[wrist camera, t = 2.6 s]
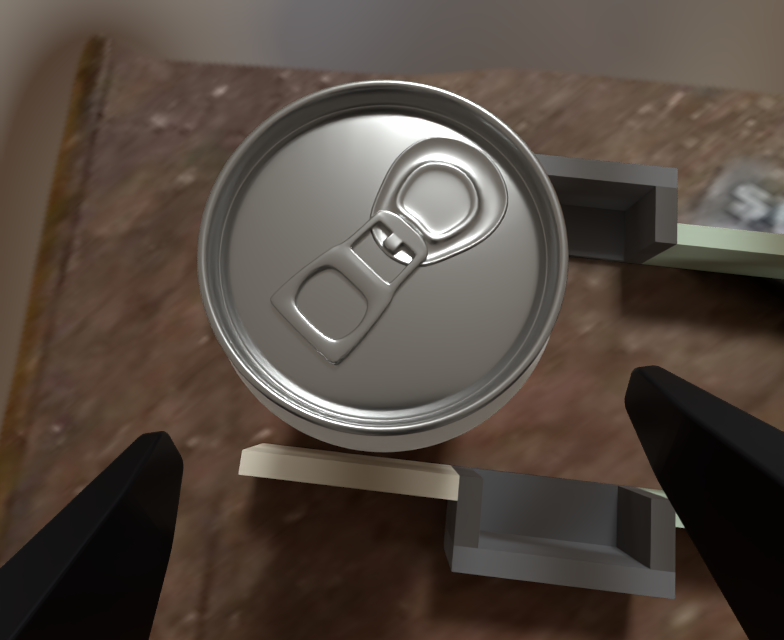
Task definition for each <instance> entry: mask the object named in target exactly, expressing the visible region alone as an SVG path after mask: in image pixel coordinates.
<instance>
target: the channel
mask: <svg viewBox="0 0 784 640" xmlns="http://www.w3.org/2000/svg"><path fill="white" fill-rule="evenodd" d="M535 156H536V157H537V159H538V160H539V161H540V163H541V165H542V166H543V168H544V169H545V171H546V173H547V175H548V177H549V179H550V181H551V183H552V185H553V187H554V189H555V191H556V194H557V197H558V199H559V202H560V205H561V208H562V212H563V216H564V220H565V225H566V231H567V238H568V252H569V256H570V257H580V258H589V259H598V260H608V261H617V262H627V263H636V264H645V265H655V266H664V267H674V268H683V269H692V270H702V271H711V272H720V273H730V274H739V275H749V276H758V277H767V278H777V279H784V234H775V233H765V232H755V231H746V230H736V229H727V228H717V227H707V226H698V225H688V224H679V223H677V202H678V168H669V167H659V166H649V165H639V164H630V163H620V162H610V161H600V160H590V159H580V158H570V157H561V156H551V155H541V154H535ZM239 475H247V476H256V477H264V478H272V479H281V480H289V481H297V482H306V483H314V484H322V485H331V486H339V487H347V488H356V489H364V490H372V491H381V492H389V493H397V494H406V495H414V496H422V497H431V498H439V499H447V511H446V522H445V534H444V545H443V548H444V551H445V554H446V557H447V560H448V563H449V566H450V569H451V572H459V573H467V574H475V575H483V576H491V577H499V578H507V579H515V580H523V581H532V582H540V583H548V584H556V585H564V586H572V587H580V588H588V589H596V590H604V591H612V592H620V593H629V594H637V595H645V596H653V597H661V598H669V599H675V534H676V527H681V528H684V526H683V524H682V522H681V521H680V519H679V517H678V515H677V514H676V512H675V510H674V508H673V507H672V505H671V503H670V501H669V500H668V498H667V496H666V495H665V493H664V491H663V490H655V489H647V488H638V487H630V486H621V485H613V484H605V483H596V482H588V481H579V480H571V479H562V478H554V477H545V476H537V475H528V474H520V473H511V472H503V471H495V470H486V469H478V468H469V467H461V466H452V465H444V464H435V463H427V462H418V461H410V460H401V459H393V458H384V457H376V456H368V455H359V454H351V453H342V452H334V451H325V450H317V449H308V448H300V447H291V446H283V445H274V444H266V443H262V444H259V445H256V446H253V447H250V448H247V449H244V450H242V456H241V462H240V468H239Z"/></svg>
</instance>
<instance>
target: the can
mask: <svg viewBox="0 0 784 640" xmlns="http://www.w3.org/2000/svg"><path fill="white" fill-rule="evenodd" d="M568 262H569V252H568V238H567V231H566V225H565V220H564V216H563V212H562V208H561V205H560V202H559V199H558V197H557V194H556V191H555V189H554V187H553V185H552V183H551V181H550V179H549V177H548V175H547V173H546V171H545V169H544V168H543V166H542V165H541V163H540V161H539V160H538V159H537V157H536V156H535V154H534V153H533V152H532V150H531V149H530V148H529V147H528V145H527V144H526V143H525V142H524V141H523V140H522V139H521V138H520V137H519V135H518V134H516V133H515V132H514V131H513V130H512V129H511V128H510V127H509V126H508V125H507V124H506V123H504V122H503V121H502V120H501V119H499V118H498V117H497V116H495V115H494V114H493V113H491V112H490V111H488V110H487V109H485V108H483V107H482V106H480V105H478V104H476V103H475V102H473V101H471V100H469V99H467V98H465V97H463V96H460V95H458V94H456V93H453V92H450V91H448V90H445V89H442V88H438V87H435V86H431V85H427V84H422V83H417V82H411V81H402V80H365V81H357V82H351V83H345V84H341V85H336V86H333V87H329V88H326V89H323V90H320V91H317V92H314V93H312V94H309V95H307V96H305V97H303V98H300V99H298V100H296V101H294V102H293V103H291V104H289V105H287V106H286V107H284V108H282V109H281V110H279V111H278V112H276V113H275V114H273V115H272V116H270V117H269V118H268V119H266V120H265V121H264V122H263V123H261V124H260V125H259V126H258V127H257V128H256V129H255V130H254V131H252V132H251V133H250V134H249V135H248V136H247V137H246V138H245V140H244V141H243V142H242V143H241V144H240V145H239V146H238V148H237V149H236V150H235V151H234V153H233V154H232V155H231V157H230V158H229V159H228V161H227V162H226V164H225V165H224V167H223V169H222V170H221V172H220V174H219V176H218V177H217V179H216V181H215V183H214V186H213V188H212V190H211V192H210V195H209V197H208V200H207V203H206V206H205V209H204V212H203V216H202V220H201V225H200V230H199V237H198V247H197V270H198V280H199V287H200V293H201V297H202V301H203V305H204V309H205V312H206V315H207V318H208V320H209V323H210V325H211V327H212V330H213V332H214V334H215V336H216V338H217V340H218V342H219V343H220V345H221V347H222V349H223V350H224V352H225V353H226V355H227V356H228V358H229V360H230V362H231V364H232V365H233V367H234V369H235V370H236V372H237V374H238V375H239V377H240V378H241V379H242V381H243V382H244V384H245V385H246V386H247V387H248V389H249V390H250V391H251V392H252V393H253V394H254V396H255V397H256V398H257V399H258V400H259V401H260V402H261V403H262V404H263V405H264V406H265V407H267V408H268V409H269V410H270V411H271V412H272V413H274V414H275V415H276V416H277V417H279V418H280V419H281V420H283V421H284V422H286V423H287V424H289V425H290V426H292V427H294V428H295V429H297V430H299V431H301V432H303V433H305V434H307V435H309V436H311V437H313V438H316V439H318V440H321V441H323V442H326V443H329V444H332V445H336V446H340V447H344V448H348V449H354V450H360V451H368V452H399V451H408V450H415V449H420V448H425V447H429V446H433V445H436V444H439V443H442V442H445V441H448V440H450V439H453V438H455V437H457V436H460V435H462V434H464V433H466V432H468V431H469V430H471V429H473V428H475V427H476V426H478V425H480V424H481V423H483V422H484V421H486V420H487V419H489V418H490V417H491V416H492V415H494V414H495V413H496V412H497V411H499V410H500V409H501V408H502V407H503V406H504V405H505V404H506V403H508V402H509V401H510V400H511V398H512V397H513V396H514V395H515V394H516V393H517V392H518V391H519V390H520V388H521V387H522V386H523V385H524V383H525V382H526V381H527V379H528V378H529V376H530V375H531V373H532V372H533V370H534V369H535V367H536V365H537V363H538V362H539V360H540V358H541V356H542V354H543V352H544V349H545V347H546V345H547V342H548V339H549V337H550V334H551V332H552V330H553V327H554V325H555V323H556V320H557V318H558V315H559V312H560V309H561V306H562V302H563V298H564V294H565V289H566V283H567V276H568Z"/></svg>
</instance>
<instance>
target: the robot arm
mask: <svg viewBox="0 0 784 640" xmlns="http://www.w3.org/2000/svg"><path fill="white" fill-rule="evenodd" d="M625 407H626V410H627V413H628V415H629V417H630V420H631V422H632V424H633V426H634V429H635V431H636V433H637V436H638V438H639V440H640V442H641V445H642V447H643V449H644V451H645V454H646V456H647V458H648V460H649V463H650V465H651V467H652V469H653V472H654V474H655V476H656V478H657V480H658V482H659V484H660V485H661V487H662V489H663V491H664V493H665V495H666V496H667V498H668V500H669V501H670V503H671V505H672V507H673V508H674V510H675V512H676V514H677V515H678V517H679V519H680V521H681V522H682V524H683V526H684V528H685V529H686V531H687V533H688V534H689V536H690V538H691V540H692V541H693V543H694V545H695V547H696V548H697V550H698V552H699V554H700V555H701V557H702V559H703V561H704V562H705V564H706V566H707V567H708V569H709V571H710V573H711V574H712V576H713V578H714V580H715V581H716V583H717V585H718V587H719V588H720V590H721V592H722V594H723V595H724V597H725V599H726V600H727V602H728V604H729V606H730V607H731V609H732V611H733V613H734V614H735V616H736V618H737V620H738V621H739V623H740V625H741V627H742V628H743V630H744V632H745V633H746V635H747V637H748V639H749V640H784V432H783V431H781V430H779V429H777V428H775V427H773V426H771V425H769V424H767V423H765V422H764V421H762V420H760V419H758V418H756V417H754V416H752V415H750V414H748V413H747V412H745V411H743V410H741V409H739V408H737V407H735V406H733V405H731V404H729V403H728V402H726V401H724V400H722V399H720V398H718V397H716V396H714V395H712V394H711V393H709V392H707V391H705V390H703V389H701V388H699V387H697V386H695V385H693V384H692V383H690V382H688V381H686V380H684V379H682V378H680V377H678V376H676V375H675V374H673V373H671V372H669V371H667V370H665V369H663V368H661V367H659V366H645V367H638V368H635V369H634V370H633V371H632V373H631V377H630V380H629V384H628V387H627V391H626V395H625ZM182 476H183V460H182V457H181V455H180V453H179V452H178V450H177V448H176V446H175V445H174V443H173V441H172V439H171V438H170V436H169V434H168V433H166V432H165V431H159V432H151V433H145V434H142V435H141V436H139V437H138V438H137V439H136V440H135V441H134V442H133V443H132V444H131V445H130V446H129V447H128V448H127V449H125V450H124V451H123V452H122V453H121V454H120V455H119V456H118V457H117V458H116V459H115V460H114V461H113V462H112V463H111V464H110V465H109V466H108V467H106V468H105V469H104V470H103V471H102V472H101V473H100V474H99V475H98V476H97V477H96V478H95V479H94V480H93V481H92V482H91V483H90V484H89V485H87V486H86V487H85V488H84V489H83V490H82V491H81V492H80V493H79V494H78V495H77V496H76V497H75V498H74V499H73V500H72V501H71V502H70V503H68V504H67V505H66V506H65V507H64V508H63V509H62V510H61V511H60V512H59V513H58V514H57V515H56V516H55V517H54V518H53V519H52V520H51V521H49V522H48V523H47V524H46V525H45V526H44V527H43V528H42V529H41V530H40V531H39V532H38V533H37V534H36V535H35V536H34V537H33V538H32V539H30V540H29V541H28V542H27V543H26V544H25V545H24V546H23V547H22V548H21V549H20V550H19V551H18V552H17V553H16V554H15V555H14V556H13V557H11V558H10V559H9V560H8V561H7V562H6V563H5V564H4V565H3V566H2V567H1V568H0V640H149V636H150V632H151V628H152V624H153V620H154V617H155V613H156V609H157V605H158V601H159V597H160V593H161V589H162V585H163V582H164V578H165V574H166V570H167V566H168V562H169V558H170V553H171V549H172V544H173V538H174V532H175V525H176V518H177V511H178V504H179V497H180V490H181V483H182Z"/></svg>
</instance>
